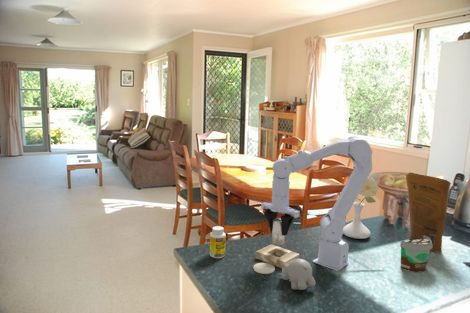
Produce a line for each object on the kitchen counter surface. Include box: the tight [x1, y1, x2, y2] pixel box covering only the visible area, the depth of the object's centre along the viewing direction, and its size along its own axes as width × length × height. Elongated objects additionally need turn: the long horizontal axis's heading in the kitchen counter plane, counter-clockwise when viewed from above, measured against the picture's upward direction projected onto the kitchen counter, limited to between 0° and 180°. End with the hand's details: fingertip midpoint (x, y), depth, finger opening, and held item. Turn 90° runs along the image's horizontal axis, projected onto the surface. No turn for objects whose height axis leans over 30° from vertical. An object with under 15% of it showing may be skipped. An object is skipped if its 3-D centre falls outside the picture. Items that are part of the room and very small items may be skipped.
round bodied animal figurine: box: [281, 258, 316, 291], centre depth 111 cm, size 7×12×8 cm, turn 30°
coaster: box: [253, 262, 276, 275], centre depth 121 cm, size 7×7×1 cm
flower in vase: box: [343, 177, 380, 240], centre depth 149 cm, size 13×11×25 cm
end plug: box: [271, 217, 286, 246], centre depth 126 cm, size 4×4×8 cm
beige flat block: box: [255, 243, 301, 269], centre depth 128 cm, size 12×9×2 cm
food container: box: [399, 235, 433, 273], centre depth 122 cm, size 12×6×10 cm, turn 117°
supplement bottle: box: [209, 225, 227, 259], centre depth 129 cm, size 6×6×10 cm
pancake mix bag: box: [405, 171, 452, 253], centre depth 142 cm, size 7×19×28 cm, turn 16°
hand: (278, 232), depth 126 cm, fingers closed on end plug, 4 cm apart
